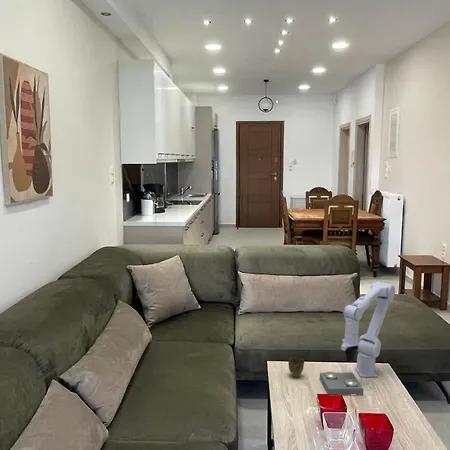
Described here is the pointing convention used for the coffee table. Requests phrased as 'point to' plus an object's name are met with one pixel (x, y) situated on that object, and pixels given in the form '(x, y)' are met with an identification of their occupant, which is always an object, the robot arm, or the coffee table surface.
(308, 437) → the coffee table surface
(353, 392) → the knob board
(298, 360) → the cup
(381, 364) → the coffee table surface
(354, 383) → the knob
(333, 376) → the knob
